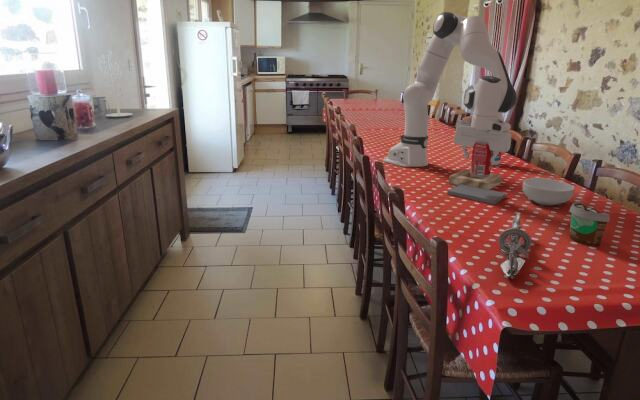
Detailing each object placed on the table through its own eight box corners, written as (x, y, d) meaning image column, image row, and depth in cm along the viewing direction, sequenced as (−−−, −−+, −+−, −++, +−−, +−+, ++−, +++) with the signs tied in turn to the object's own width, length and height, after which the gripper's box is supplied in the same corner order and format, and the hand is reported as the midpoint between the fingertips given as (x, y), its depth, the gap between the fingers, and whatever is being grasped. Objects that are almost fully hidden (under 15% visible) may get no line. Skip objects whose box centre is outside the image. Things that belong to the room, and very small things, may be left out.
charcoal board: (447, 194, 166) (447, 190, 166) (460, 187, 175) (460, 184, 174) (494, 204, 155) (494, 200, 154) (505, 197, 164) (506, 193, 163)
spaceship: (537, 210, 126) (511, 197, 128) (537, 272, 97) (504, 254, 99) (522, 230, 130) (497, 217, 132) (518, 295, 101) (486, 278, 103)
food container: (555, 231, 131) (561, 200, 128) (574, 231, 132) (581, 200, 128) (582, 248, 119) (589, 215, 116) (603, 248, 120) (611, 214, 117)
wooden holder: (448, 183, 180) (449, 175, 179) (464, 176, 191) (465, 168, 190) (486, 191, 170) (487, 183, 169) (500, 183, 181) (502, 175, 180)
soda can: (491, 178, 158) (496, 143, 154) (471, 177, 159) (476, 143, 155) (487, 173, 165) (492, 139, 160) (468, 172, 166) (472, 139, 161)
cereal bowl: (550, 212, 148) (554, 193, 145) (510, 199, 162) (513, 180, 159) (581, 205, 155) (585, 186, 153) (540, 193, 169) (543, 175, 167)
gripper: (453, 120, 160) (448, 156, 165) (509, 127, 147) (502, 166, 152) (460, 118, 165) (456, 154, 169) (515, 125, 152) (508, 163, 156)
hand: (478, 160), depth 161 cm, fingers open, 8 cm apart
